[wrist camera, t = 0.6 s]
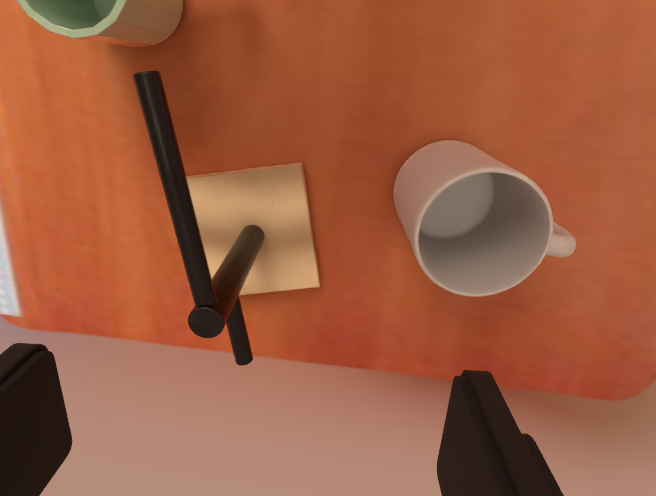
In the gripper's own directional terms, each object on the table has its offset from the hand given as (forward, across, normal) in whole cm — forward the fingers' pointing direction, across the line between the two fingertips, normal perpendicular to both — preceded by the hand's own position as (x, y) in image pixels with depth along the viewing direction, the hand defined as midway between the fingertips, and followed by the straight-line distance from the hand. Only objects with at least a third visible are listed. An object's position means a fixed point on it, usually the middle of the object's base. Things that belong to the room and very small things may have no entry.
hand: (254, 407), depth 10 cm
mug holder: (+28, +6, +3) cm, 29 cm away
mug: (+28, -12, +2) cm, 31 cm away
